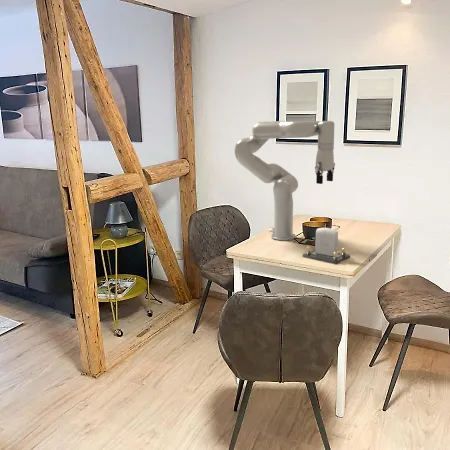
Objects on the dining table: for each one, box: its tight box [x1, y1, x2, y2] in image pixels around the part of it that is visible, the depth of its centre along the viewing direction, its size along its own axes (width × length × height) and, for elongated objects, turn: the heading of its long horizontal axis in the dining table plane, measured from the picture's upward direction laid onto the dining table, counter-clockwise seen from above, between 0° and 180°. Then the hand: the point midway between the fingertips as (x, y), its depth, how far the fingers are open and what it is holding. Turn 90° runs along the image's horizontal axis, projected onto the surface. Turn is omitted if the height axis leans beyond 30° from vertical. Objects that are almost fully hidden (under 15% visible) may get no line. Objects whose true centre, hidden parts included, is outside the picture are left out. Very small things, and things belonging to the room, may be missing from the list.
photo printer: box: [314, 227, 339, 256], centre depth 213 cm, size 10×4×12 cm, turn 55°
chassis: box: [302, 245, 351, 265], centre depth 214 cm, size 17×13×4 cm
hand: (324, 182), depth 232 cm, fingers open, 9 cm apart
